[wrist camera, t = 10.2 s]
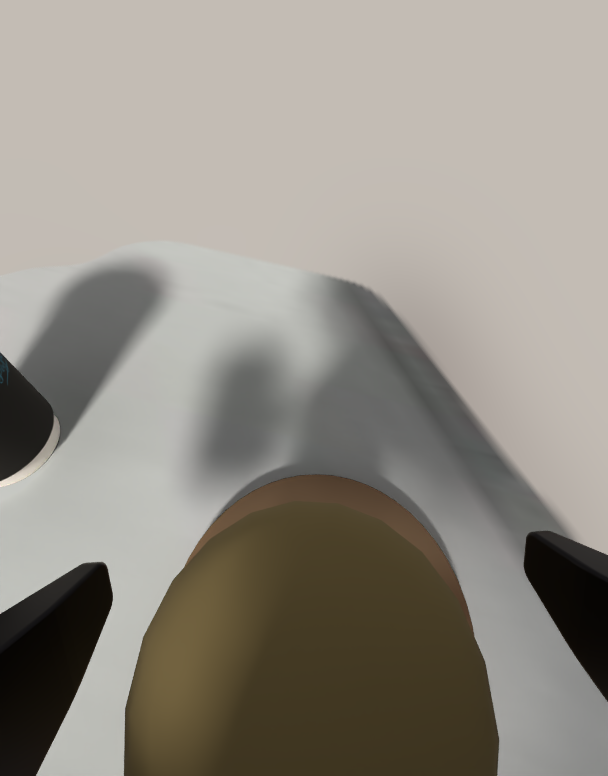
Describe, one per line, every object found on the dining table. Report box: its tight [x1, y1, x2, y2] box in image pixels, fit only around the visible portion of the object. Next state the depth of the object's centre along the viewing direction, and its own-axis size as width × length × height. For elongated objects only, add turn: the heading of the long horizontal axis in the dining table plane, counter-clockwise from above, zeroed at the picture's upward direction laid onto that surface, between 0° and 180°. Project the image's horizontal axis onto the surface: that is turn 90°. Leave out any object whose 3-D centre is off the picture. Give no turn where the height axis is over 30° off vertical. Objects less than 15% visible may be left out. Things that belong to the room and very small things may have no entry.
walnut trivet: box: [185, 474, 474, 635], centre depth 14 cm, size 12×12×1 cm
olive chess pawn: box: [124, 501, 499, 776], centre depth 8 cm, size 6×6×11 cm
